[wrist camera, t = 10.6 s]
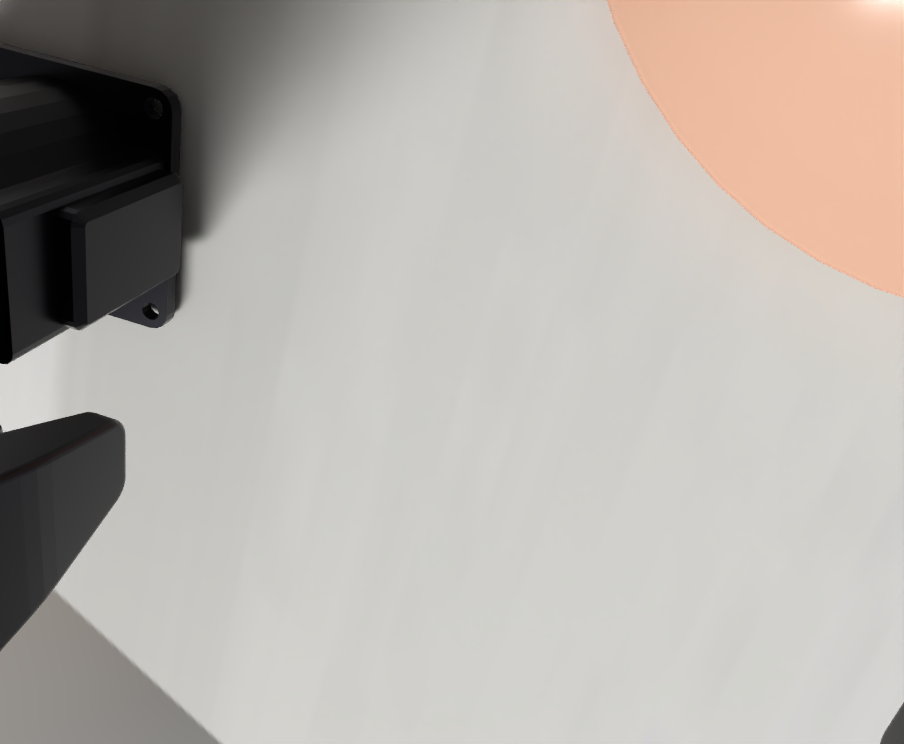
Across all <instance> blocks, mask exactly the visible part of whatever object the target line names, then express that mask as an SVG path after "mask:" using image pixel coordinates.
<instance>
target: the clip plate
mask: <svg viewBox="0 0 904 744" xmlns="http://www.w3.org/2000/svg"><path fill="white" fill-rule="evenodd" d="M607 2H608V5H609V8H610V11H611V14H612V18H613V21H614V23H615V26H616V28H617V30H618V32H619V34H620V36H621V39H622V41H623V43H624V45H625V47H626V49H627V51H628V54H629V56H630V58H631V60H632V62H633V64H634V67H635V69H636V71H637V73H638V75H639V77H640V79H641V82H642V84H643V85H644V87H645V88H646V90H647V91H648V93H649V95H650V96H651V98H652V99H653V101H654V102H655V104H656V106H657V107H658V109H659V110H660V112H661V113H662V115H663V116H664V118H665V120H666V121H667V123H668V124H669V126H670V127H671V129H672V130H673V132H674V134H675V135H676V137H677V138H678V139H679V140H680V142H681V143H682V144H683V145H684V146H685V147H686V149H687V150H688V151H689V152H690V153H691V154H692V155H693V157H694V158H695V159H696V160H697V161H698V162H699V164H700V165H701V166H702V167H703V168H704V169H705V171H706V172H707V173H708V174H709V175H710V176H711V178H712V179H713V180H714V181H715V182H716V183H717V185H718V186H720V187H721V188H722V189H723V190H724V191H725V192H726V193H728V194H729V195H730V196H731V197H732V198H733V199H734V200H736V201H737V202H738V203H739V204H740V205H741V206H742V207H744V208H745V209H746V210H747V211H748V212H749V213H750V214H751V215H753V216H754V217H755V218H756V219H757V220H758V221H759V222H761V223H762V224H763V225H764V226H765V227H767V228H768V229H770V230H771V231H773V232H774V233H776V234H777V235H779V236H781V237H782V238H784V239H785V240H787V241H788V242H790V243H791V244H793V245H794V246H796V247H797V248H799V249H800V250H802V251H803V252H805V253H806V254H808V255H809V256H811V257H813V258H814V259H816V260H817V261H819V262H821V263H823V264H825V265H828V266H830V267H832V268H834V269H836V270H838V271H840V272H842V273H844V274H846V275H848V276H850V277H853V278H855V279H857V280H859V281H861V282H863V283H865V284H867V285H869V286H871V287H873V288H876V289H879V290H882V291H885V292H888V293H891V294H894V295H897V296H900V297H903V298H904V0H607Z"/></svg>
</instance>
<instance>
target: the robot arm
mask: <svg viewBox="0 0 904 744" xmlns="http://www.w3.org/2000/svg"><path fill="white" fill-rule="evenodd" d="M155 98H156V99H157V100H159V101H160V103H161V104H162V107H163V114H162V116H161V115H159V114H158V113H157V112H156V110H155V109H154V104H153V103H154V100H155ZM180 130H181V106H180V102H179V100H178V98H177V95H176V94H175V93H174V92H173V91H172V90H171V89H170V88H168V87H166V86H164V85H160V84H156V83H153V82H149V81H145V80H141V79H137V78H133V77H129V76H126V75H122V74H118V73H114V72H110V71H106V70H102V69H98V68H95V67H91V66H87V65H83V64H79V63H75V62H71V61H68V60H64V59H60V58H56V57H52V56H48V55H44V54H41V53H37V52H33V51H29V50H25V49H21V48H17V47H14V46H10V45H6V44H2V43H0V363H1V364H8V363H10V362H12V361H14V360H15V359H17V358H19V357H21V356H22V355H24V354H26V353H27V352H29V351H31V350H33V349H34V348H36V347H38V346H40V345H41V344H43V343H45V342H47V341H48V340H50V339H52V338H53V337H55V336H57V335H59V334H60V333H62V332H64V331H66V330H67V329H69V328H73V329H76V330H82V329H84V328H86V327H88V326H89V325H91V324H93V323H94V322H96V321H98V320H99V319H101V318H103V317H105V316H106V315H111V316H114V317H118V318H121V319H124V320H128V321H131V322H134V323H137V324H141V325H144V326H147V327H151V328H158V327H161V326H163V325H164V324H166V323H167V322H169V321H170V320H171V319H172V318H173V316H174V312H175V290H176V273H178V272H179V271H180V264H181V234H182V205H183V183H182V181H181V179H180V177H179V162H180ZM150 303H152V304H154V305H155V306H156V307H157V309H158V312H159V314H157V313H155V312H154V311H153V310H152V308H151V305H150ZM124 483H125V429H124V427H123V425H122V423H120V422H119V421H118V420H115V419H112V418H109V417H106V416H103V415H100V414H97V413H92V412H86V413H81V414H77V415H73V416H69V417H65V418H61V419H57V420H53V421H49V422H45V423H41V424H36V425H32V426H28V427H24V428H20V429H16V430H12V431H8V432H4V433H3V431H2V427H1V426H0V651H1V650H2V649H3V647H4V646H5V645H6V644H7V643H8V642H9V641H10V639H11V638H12V637H13V636H14V635H15V634H16V633H17V632H18V630H19V629H20V628H21V627H22V626H23V625H24V624H25V623H26V622H27V620H28V619H29V618H30V617H31V616H32V615H33V613H34V612H35V611H36V610H37V609H38V608H39V606H40V605H41V604H42V603H43V602H44V601H45V599H46V598H47V597H48V595H49V594H50V593H51V591H52V590H53V589H54V588H55V586H56V585H57V584H58V582H59V581H60V579H61V578H62V577H63V575H64V574H65V572H66V571H67V570H68V568H69V567H70V566H71V564H72V563H73V561H74V560H75V559H76V557H77V556H78V554H79V553H80V552H81V550H82V549H83V547H84V546H85V545H86V543H87V542H88V540H89V539H90V538H91V536H92V535H93V533H94V532H95V531H96V529H97V528H98V526H99V525H100V524H101V522H102V521H103V519H104V518H105V517H106V515H107V514H108V512H109V511H110V510H111V508H112V507H113V505H114V504H115V503H116V501H117V500H118V498H119V496H120V494H121V492H122V490H123V487H124ZM880 744H904V703H903V704H902V706H901V707H900V709H899V711H898V712H897V714H896V715H895V717H894V718H893V720H892V721H891V723H890V724H889V726H888V728H887V729H886V731H885V733H884V734H883V737H882V739H881V742H880Z"/></svg>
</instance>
